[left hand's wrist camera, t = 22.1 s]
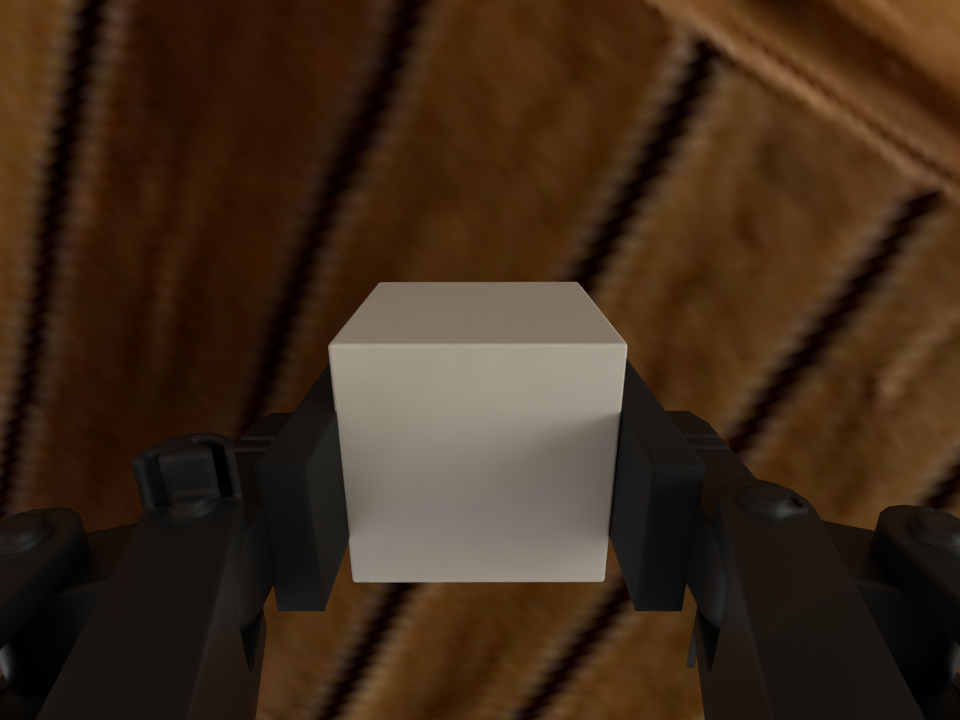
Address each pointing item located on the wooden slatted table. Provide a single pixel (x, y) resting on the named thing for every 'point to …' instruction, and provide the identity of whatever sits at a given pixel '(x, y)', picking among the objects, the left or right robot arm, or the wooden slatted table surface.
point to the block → (478, 432)
